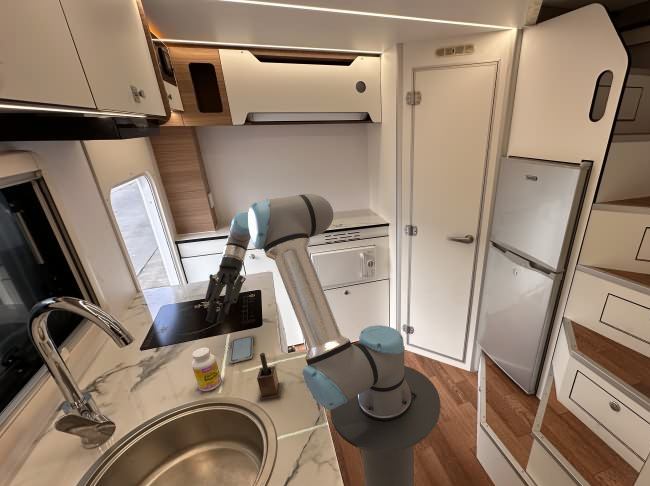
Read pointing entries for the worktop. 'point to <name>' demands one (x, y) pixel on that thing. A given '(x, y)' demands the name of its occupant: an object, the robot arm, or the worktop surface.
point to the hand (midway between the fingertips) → (214, 321)
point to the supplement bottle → (205, 369)
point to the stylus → (264, 364)
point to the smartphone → (241, 349)
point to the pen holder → (268, 384)
